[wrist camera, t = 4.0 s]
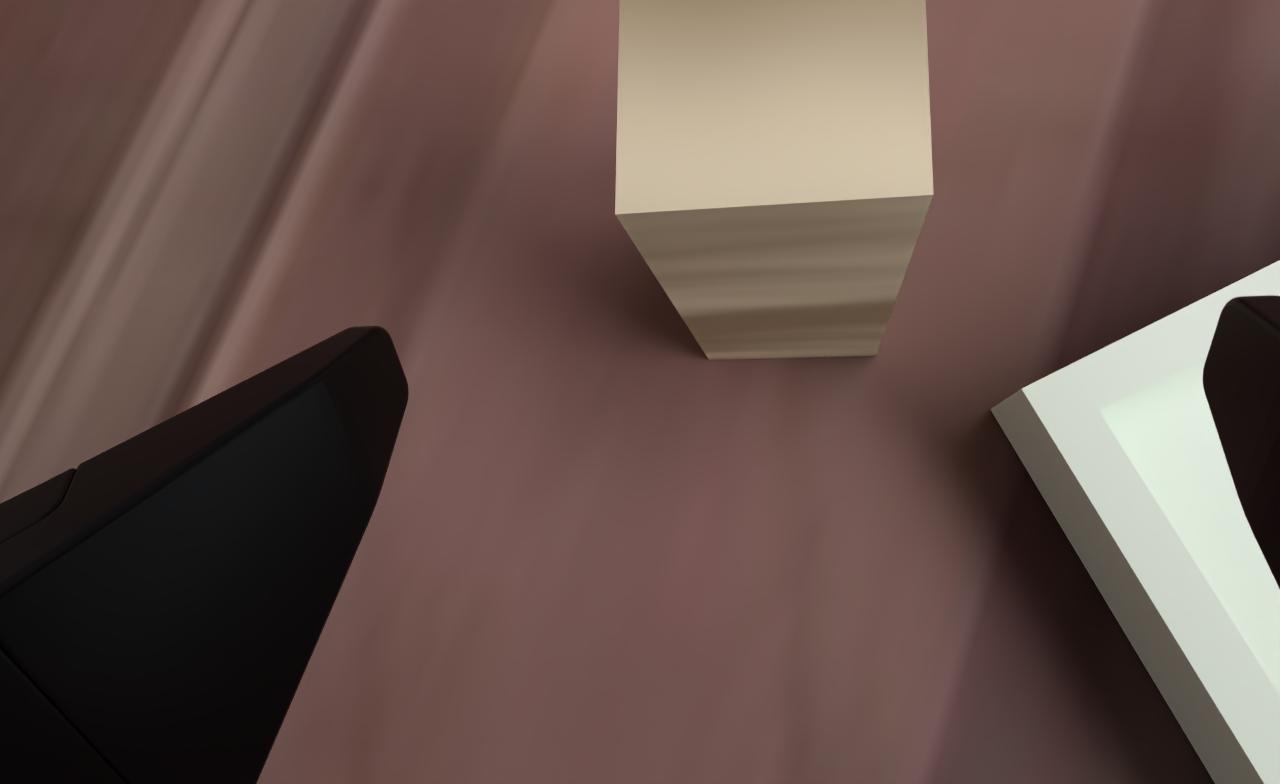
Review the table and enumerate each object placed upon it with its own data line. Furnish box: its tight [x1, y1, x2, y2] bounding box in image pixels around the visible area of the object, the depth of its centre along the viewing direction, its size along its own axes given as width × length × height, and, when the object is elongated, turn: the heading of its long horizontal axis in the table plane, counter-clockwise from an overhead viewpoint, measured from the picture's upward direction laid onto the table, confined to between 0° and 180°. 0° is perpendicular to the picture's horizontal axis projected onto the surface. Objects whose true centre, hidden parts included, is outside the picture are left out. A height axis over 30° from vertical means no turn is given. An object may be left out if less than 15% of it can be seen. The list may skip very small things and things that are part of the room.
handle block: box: [615, 0, 933, 360], centre depth 16 cm, size 4×4×10 cm
